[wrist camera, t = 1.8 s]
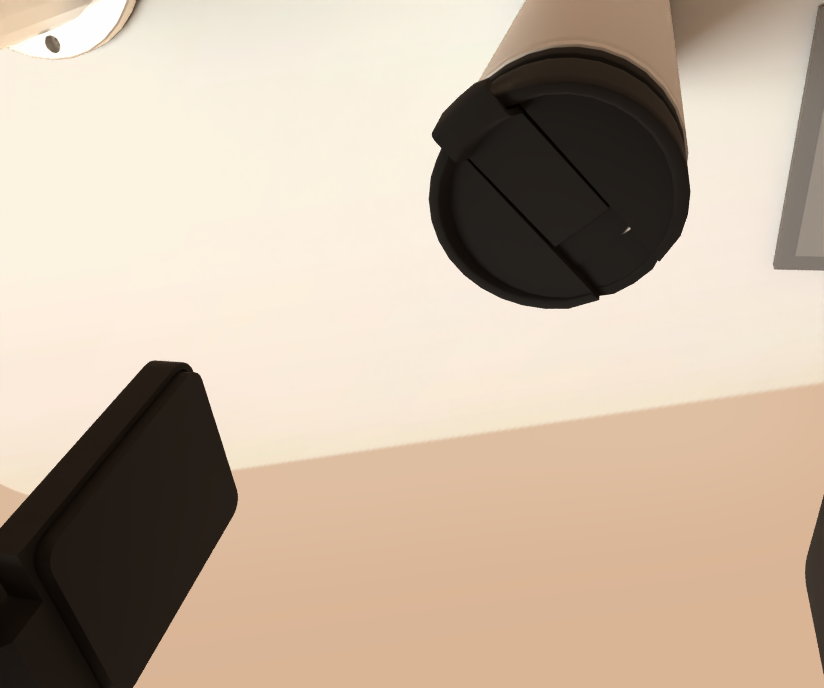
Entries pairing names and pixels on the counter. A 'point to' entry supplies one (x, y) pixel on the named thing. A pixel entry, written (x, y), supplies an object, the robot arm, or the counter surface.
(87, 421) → the counter surface
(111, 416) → the robot arm
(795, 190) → the mat
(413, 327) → the counter surface
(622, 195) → the travel mug
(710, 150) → the counter surface
